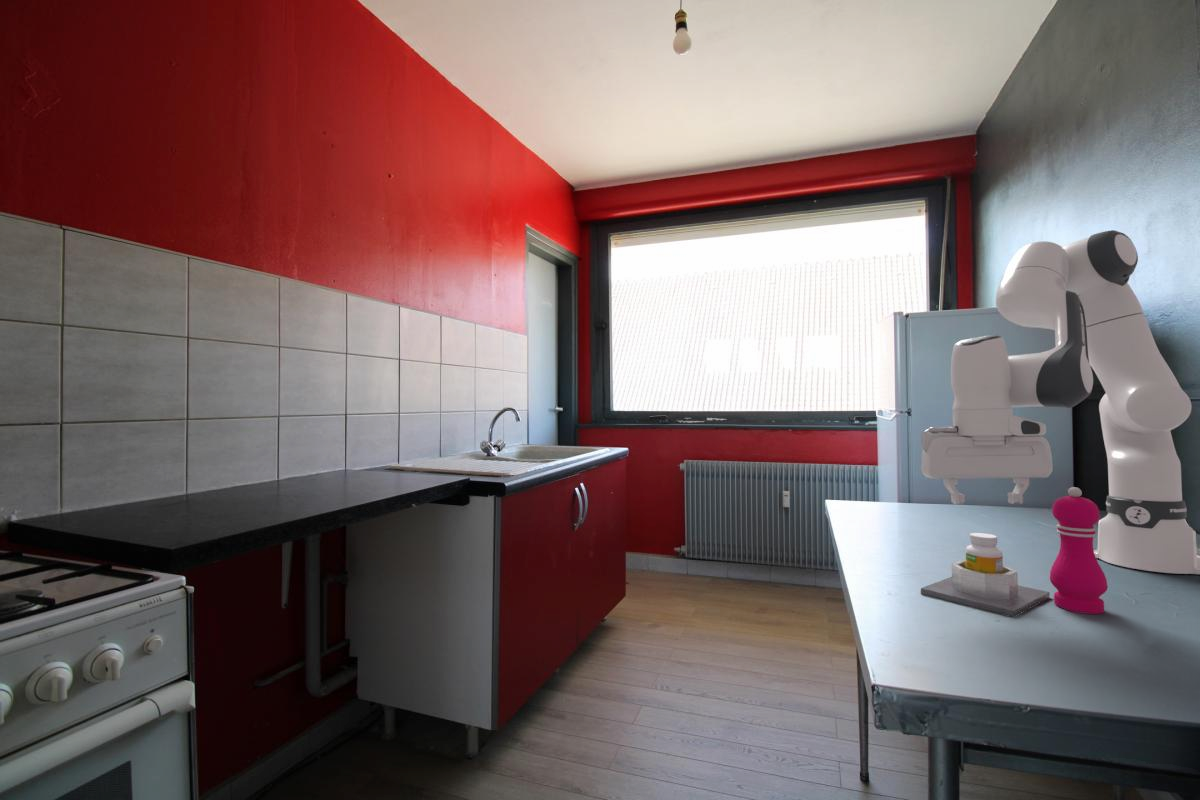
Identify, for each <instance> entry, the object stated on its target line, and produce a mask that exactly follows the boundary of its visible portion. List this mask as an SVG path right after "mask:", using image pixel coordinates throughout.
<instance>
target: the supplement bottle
mask: <svg viewBox="0 0 1200 800" xmlns="http://www.w3.org/2000/svg"><path fill="white" fill-rule="evenodd" d="M969 542H970V543H971V544H970V545H967V546H966V548H965V561H966V569H968V570H973V571H978V572H983V573H1002V574H1003V565H1004V561H1003V552H1002V550H1001V549H1000V548H998V547H996V546H997V545H998V536H997V535H994V534H992V533H991V534H989V533H983V532H971V533H969Z"/></svg>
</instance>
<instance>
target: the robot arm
mask: <svg viewBox="0 0 1200 800" xmlns="http://www.w3.org/2000/svg"><path fill="white" fill-rule="evenodd" d="M1138 258H1139V257H1138V251H1137V249H1136V246H1135V244H1134V242H1133V241H1132V240H1131V238H1130V237H1129V236H1128V235H1126V234H1125V233H1123V232H1121V231H1117V230H1113V229H1112V230H1107V231H1106V230H1105V231H1101V232H1097V233H1095V234H1091V235H1090V236H1089V237H1086V238H1083V239H1080V240H1076V241H1074V242H1071V243H1068V244H1066V245H1063V246H1061V245H1059V244H1057V243H1056V242H1051V241H1047V240H1046V241H1034V242H1032V243H1029V244H1028V243H1027V244H1026V245H1025V246H1023V247H1021V248H1020V249H1019V250H1017V252H1016V253H1015V254H1014V256H1013V257H1012V259H1010V261H1009V263H1007V266H1006V269H1004V272H1003V274H1002V276H1001V279H1000V281H999V284H998V286H997V289H996V294H995V307H996V309H997V312H999V314H1000V315H1001V316H1002V317H1003V318H1005V320H1007V321H1009V322H1011V323H1013V324H1014V325H1017V326H1019V327H1024V328H1033V329H1034V328H1037V329H1047V330H1053V331H1054V342H1055V343H1054V345H1055V346H1054V347H1053V348H1051V349H1049V350H1046V351H1042V352H1036V353H1024V354H1015V355H1009V354H1008V349H1007V346H1006V345H1007V344H1006V341H1005V338H1004V337H1003V336H1000V335H997V334H995V335H993V334H992V335H990V334H989V335H981V336H974V337H970V338H964V339H961V340H958V341H957V342H956V343H954V344H953V348H952V352H951V353H952V354H951V361H950V386H951V390H952V392H953V397H954V398H953V399H954V400H953V404H952V408H951V409H952V426H943V427H942V426H941V427H940V426H932V427H928V429H926V430H924V431H923V433H921V436H920V440H921V441H920V443H921V444H920V445H921V448H922V453H921V462H920V466H921V467H920V468H921V469H920V471H921V473H922V475H923V476H925V478H928V479H933V480H935V479H937V480H941V479H943V480H942V481H943V485H944V487H945V488H946V490H947V491H948V492H949V494H950V500H951V504H953V505H965V503H966V500H965V499H966V495H965V494H963V493H960V492H959V490H958V488H957V487H956V485H957V486H958V484H959V481H958V479H1012V482H1013V483H1014V484H1015V486H1014V488H1013V490H1012V492H1007V497H1008V498H1007V502H1008V503H1009V504H1012V505H1013V504H1014V505H1021V504H1022V505H1023V503H1024V497H1023V495H1024V494H1025V492H1026V491H1027V489H1028V488H1029V486H1030V478H1031V479H1035V478H1036V479H1037V478H1038V479H1040V478H1042V479H1043V478H1046V479H1047V478H1048V477H1049V476H1050V475H1051V474H1052V473H1053V470H1054V468H1053V467H1054V466H1053V456H1052V451H1051V445H1050V442H1049V441H1048V440H1047V438H1046V437H1045V436H1043V435H1046V434H1047V425H1046V424H1045V423H1043V422H1041V421H1036V420H1032V419H1029V418H1026V417H1025V418H1024V417H1021V416H1018V415H1015V414H1014V411H1013V408H1027V407H1028V408H1029V407H1046V408H1063V409H1064V408H1067V409H1070V408H1074V407H1075V406H1078V404H1080V403H1081V402H1083V401H1084V400H1086V398H1088V397H1089V396H1090V395H1091V394H1092V391H1093V388H1094V387H1093V385H1094V376H1093V375H1094V374H1095V375H1096V377H1097V379H1098V380H1099V382H1100V384H1101V386H1102V388H1103V390H1104V392H1105V393H1104V395H1103V396H1102V398H1100V400H1099V404H1098V411H1099V417H1100V425H1101V431H1102V432H1101V433H1102V438H1103V442H1104V448H1105V453H1106V458H1107V475H1108V477H1107V478H1108V495H1106V501H1105V505H1106V512H1107V515H1105V516H1104V517H1102V518H1101V519H1099V520H1098V521H1097V523H1098V524H1097V525H1098V526H1097V527H1098V528H1097V549H1093V550H1094V554H1095V557H1096V559H1098V558H1099V560H1102V561H1104V562H1106V563H1109V564H1111V565H1112V564H1113V565H1116V566H1120V567H1125V568H1128V569H1133V570H1135V569H1136V570H1141V571H1147V572H1156V573H1163V574H1164V573H1165V574H1175V575H1177V574H1178V575H1179V574H1180V575H1182V574H1184V575H1189V574H1191V575H1200V548H1198V547H1197V533H1196V531H1195V530H1194V529H1193V528H1192V527H1191V526H1190V525H1189V524H1188V523H1187V521H1186V519H1187V517H1188V515H1187V511H1188V510H1187V506H1186V501H1185V500H1183V489H1182V487H1183V484H1182V463H1181V460H1180V458H1179V456H1178V454H1177V451H1176V447H1175V444H1174V440H1173V436H1172V430H1174V429H1176V428H1177V427H1179V426H1181V425H1182V424H1184V422H1185V421H1187V419H1188V418H1189V417H1190V415H1191V413H1192V402H1191V399H1190V397H1189V396H1188V395H1187V393H1186V392H1185V391H1184V390H1183V388H1182V387H1181V385H1180V383H1179V382H1178V380H1177V378H1176V376H1175V375H1174V373H1173V371H1172V370H1171V368H1170V367H1169V365H1168V363H1167V362H1166V360H1165V358H1164V357H1163V356H1162V354H1161V353H1160V350H1159V348H1158V346H1157V343H1156V341H1155V339H1154V335H1153V334H1152V330H1151V329H1150V326H1149V323H1148V320H1147V318H1146V315H1145V313H1144V310H1143V307H1142V305H1141V304H1140V302H1139V299H1138V297H1137V296H1136V294H1135V292H1134V290H1133V289H1132V287H1131V286H1130V284H1129V283H1128V282H1129V280H1130V277H1131V276H1132V275H1133V273H1134V272H1135V269H1136V268H1137V265H1138V260H1139V259H1138ZM1093 371H1094V374H1093Z"/></svg>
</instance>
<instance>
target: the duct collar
mask: <svg viewBox="0 0 1200 800" xmlns="http://www.w3.org/2000/svg"><path fill="white" fill-rule="evenodd" d="M1018 582H1019V580H1018V570H1015V569H1014V568H1011V567H1008V566H1007V565H1004V564H1003V574H1002V573H983V572H978V571H973V570H968V569H966V560H958V561H956V562H953V563H951V577H950V576H949V577H948V578H944V579H942V580H939V581H936V582H933V583H932V584H931V583H930V584H929V585H925V586H923V587H921V588H920V595H925V596H926V597H927V596H928V597H932V598H935V599H941V600H943V601H946V602H947V601H949V602H951V603H955V604H960V605H965V606H968V607H971V608H974V609H975V608H976V609H979V610H984V611H988V612H992V613H995V614H999V615H1004V616H1007V617H1011V618H1015V617H1017V616H1018V614H1019V615H1020V614H1022V613H1024V612H1025V610H1026V611H1027V609H1028V608H1030V607H1032V606H1033V607H1035V606H1037V605H1039V604H1040V603H1039V602H1041V601H1043V600H1045V599H1046V600H1048V599H1050V598H1051V597H1050V596H1051V595H1050V593H1051V592H1050V591H1047V590H1042V589H1039V588H1038V589H1037V588H1031V587H1027V586H1022V585H1019V583H1018ZM1049 597H1050V598H1049ZM1047 598H1048V599H1047ZM1046 600H1045V601H1046ZM1043 602H1044V601H1043ZM1038 603H1039V604H1038ZM1041 603H1042V602H1041ZM1036 604H1037V605H1036ZM1034 605H1035V606H1034ZM1033 607H1032V608H1033ZM1030 609H1031V608H1030ZM1028 610H1029V609H1028ZM1023 611H1024V612H1023ZM1021 612H1022V613H1021ZM1016 615H1017V616H1016ZM1014 616H1015V617H1014Z"/></svg>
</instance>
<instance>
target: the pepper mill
mask: <svg viewBox="0 0 1200 800" xmlns="http://www.w3.org/2000/svg"><path fill="white" fill-rule="evenodd" d="M1082 492H1083V491H1082V490H1081V489H1080V488H1079V487H1075V486H1071V487H1070V488H1068V489H1067V496H1063V497H1059V498H1058V499H1056V500H1055V501H1054V502H1053V504H1052V508H1051V512H1052V516H1053V517H1054V519H1055V520H1057V522H1058V523H1057V524H1056V527H1057V530H1056V533H1058V534H1059V539H1060V546H1059V547H1060V548H1059V550H1058V551H1059V552H1058V554H1057V556H1056V558H1055V560H1054V562H1053V564H1052V566H1051V568H1050V571H1049V581H1050V583H1051V585H1052V586H1053V587H1054V588H1055V589H1056V590H1057V591H1056V592H1054V594H1053V601H1054V605H1055V604H1056V605H1055V606H1057V607H1058V606H1059V607H1058V608H1060V607H1061V609H1063V608H1064V610H1066V609H1067V610H1066V611H1069V610H1070V612H1074V611H1075V612H1074V613H1079V612H1080V613H1079V614H1086V613H1088V615H1099V614H1100V615H1101V614H1103V613H1104V612H1105V600H1103V599H1102V598H1101V597H1102V595H1104V594H1105V593H1106V592H1107V591H1108V581H1107V577H1106V575H1105V573H1104V571H1103V569H1102V568H1101V565H1100V564H1099V562H1098V559H1097V558H1096V557H1095V554H1094V550H1095V549H1094V538H1095V537H1097V533H1096V531H1097V528H1096V527H1094V525H1095V524H1096V523H1098V522H1099V520H1100V517H1101V515H1100V513H1101V512H1100V509H1099V507H1098V505H1097V504H1096V503H1095V502H1093V501H1092V500H1090V499H1089V498H1085V497H1082V495H1083V493H1082Z"/></svg>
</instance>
